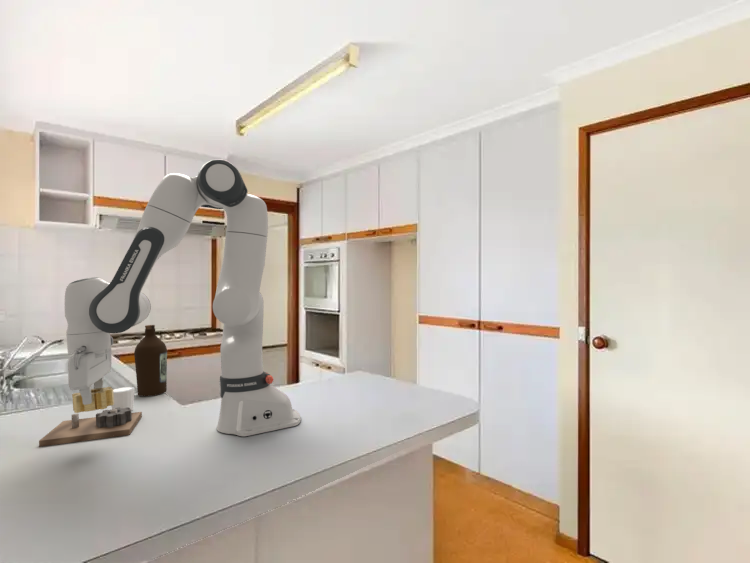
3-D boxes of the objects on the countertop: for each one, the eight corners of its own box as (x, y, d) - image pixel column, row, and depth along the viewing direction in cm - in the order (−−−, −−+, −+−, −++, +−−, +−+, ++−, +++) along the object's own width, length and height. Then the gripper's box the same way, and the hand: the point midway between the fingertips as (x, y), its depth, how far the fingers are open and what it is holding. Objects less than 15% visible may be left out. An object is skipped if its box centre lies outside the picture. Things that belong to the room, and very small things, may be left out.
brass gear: (117, 401, 108) (116, 385, 108) (109, 408, 102) (108, 392, 102) (79, 406, 105) (77, 390, 105) (69, 414, 99) (67, 397, 99)
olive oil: (131, 398, 147) (128, 327, 147) (141, 390, 158) (138, 324, 158) (164, 395, 150) (161, 325, 150) (171, 388, 160) (169, 323, 160)
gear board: (141, 416, 126) (141, 400, 126) (129, 434, 111) (129, 416, 111) (63, 426, 120) (62, 408, 120) (39, 446, 105) (38, 426, 105)
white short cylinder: (123, 415, 129) (122, 392, 129) (104, 414, 130) (103, 391, 130) (140, 408, 135) (139, 386, 135) (122, 407, 137) (121, 386, 137)
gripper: (90, 348, 95) (95, 409, 95) (114, 337, 114) (118, 388, 114) (57, 351, 93) (62, 413, 93) (87, 340, 112) (91, 391, 112)
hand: (93, 399), depth 104 cm, fingers closed on brass gear, 6 cm apart
